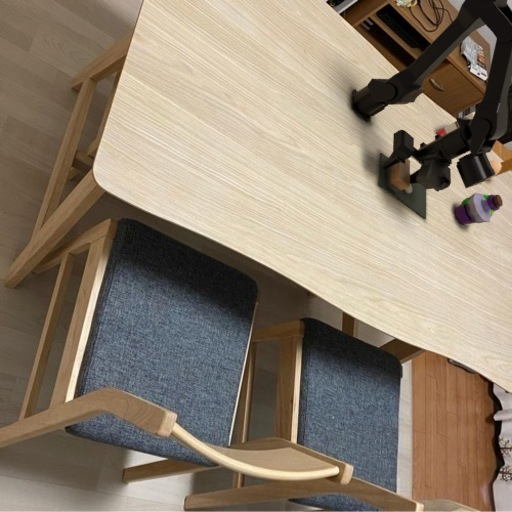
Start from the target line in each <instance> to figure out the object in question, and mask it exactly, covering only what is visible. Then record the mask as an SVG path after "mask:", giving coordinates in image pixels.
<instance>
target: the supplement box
mask: <svg viewBox="0 0 512 512" xmlns="http://www.w3.org/2000/svg"><path fill="white" fill-rule="evenodd" d="M500 163H501V170H500V171H499V173H498V174H497V175H496V176H494V177H498V176H499V175H502V174H505V173H508V172H510V171H512V157H511V158H509V159H505V160H504V161H500ZM494 177H493V178H494Z"/></svg>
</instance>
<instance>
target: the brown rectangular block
mask: <svg viewBox="0 0 512 512" xmlns="http://www.w3.org/2000/svg"><path fill="white" fill-rule="evenodd" d="M410 175H411V160H410V159H409V158H408V159H405V164H404V163H401V162H399V163H397V164H395V165H393V166H391V167H389V168H387V170H386V186H388V187H389V188H390V189H392V190H393V191H394V192H396V193H397V192H399V191H401V190H404V189H406V188H408V187H410Z"/></svg>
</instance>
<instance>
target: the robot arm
mask: <svg viewBox="0 0 512 512" xmlns="http://www.w3.org/2000/svg"><path fill="white" fill-rule="evenodd" d="M484 26H486V27H487V28H488V29H489V30H490V31H491V32H492V33H493V35H494V37H495V38H496V40H495V45H494V48H493V54H492V59H491V63H490V67H489V72H488V75H487V80H486V85H485V89H484V94H483V96H482V99H481V101H480V103H479V104H478V106H477V107H476V109H475V110H474V112H475V114H474V116H473V119H468V118H466V117H465V116H460V117H456V121H457V122H458V125H459V128H457V129H455V130H453V131H451V132H449V133H448V134H446V135H444V136H441V135H439V134H438V135H437V134H435V135H434V140H432V141H431V142H428V143H425V142H424V141H422V142H421V143H419V148H418V149H417V148H416V146H415V137H413V136H412V135H411V134H410V133H408V132H407V131H406V130H405V129H399V130H397V131H395V132H394V133H393V136H392V137H393V138H392V152H391V153H390V155H389V156H388V159H387V161H386V162H385V163H384V165H383V169H386V168H389V167H391V166H393V165H395V164H397V163H399V162H401V163H404V164H405V159H408V160H409V159H410V158H412V159H413V160H414V161H416V162H417V163H418V164H419V165H420V168H418V169H417V170H416V171H414V172H413V173H410V184H414V183H419V184H421V185H422V186H424V187H425V189H426V190H434V191H435V192H436V193H439V192H440V191H444V190H446V189H447V188H449V187H450V186H451V183H452V173H451V168H450V166H451V165H452V164H453V160H454V159H456V158H458V157H459V158H458V161H457V162H456V165H455V167H456V169H457V171H458V174H459V176H460V179H461V181H462V183H463V186H464V188H465V189H469V188H472V187H475V186H477V185H479V184H482V183H484V182H486V181H487V180H486V179H488V178H490V177H492V176H494V175H495V171H494V169H493V168H492V166H491V164H490V162H489V161H490V159H489V157H488V155H487V154H489V153H491V152H492V149H493V148H494V146H495V145H496V143H497V140H498V139H500V138H501V137H503V136H504V135H505V133H506V132H507V130H508V124H509V123H508V122H509V121H508V120H509V108H508V95H509V91H510V87H511V82H512V8H511V7H510V5H509V4H508V0H464V1H463V2H462V3H461V6H460V8H459V10H458V13H457V15H456V17H455V18H454V19H453V21H452V22H451V23H449V25H447V27H446V28H445V29H444V30H443V31H442V32H441V33H440V34H439V35H438V36H437V37H436V38H435V39H434V40H433V41H432V42H431V43H430V44H429V45H428V46H427V47H426V48H425V50H423V52H422V53H420V54H419V56H417V58H416V59H414V61H413V62H412V63H411V64H410V65H409V66H408V67H406V68H404V69H402V70H401V71H399V72H398V71H397V72H396V73H394V74H393V75H392V76H391V77H389V78H371V79H370V80H369V82H368V83H367V85H365V86H363V88H361V89H360V90H357V89H353V90H352V95H351V96H352V97H351V110H352V111H354V112H355V113H356V114H358V115H359V116H360V117H361V118H362V119H364V120H365V121H366V122H367V123H370V122H371V118H372V117H373V118H374V116H376V115H378V114H379V113H381V112H382V111H384V110H385V109H386V108H387V107H388V106H397V105H398V106H399V105H408V104H410V103H411V104H412V103H415V102H416V99H417V98H418V97H419V96H421V95H422V94H424V92H425V91H426V90H425V89H424V88H423V83H424V81H425V80H426V78H427V77H428V76H429V75H431V74H432V73H433V71H434V70H436V68H437V67H438V66H439V65H441V64H442V63H443V62H444V61H445V59H446V58H448V57H449V55H451V54H452V53H453V52H454V51H455V50H456V49H457V48H458V47H459V46H460V45H461V44H462V43H463V42H464V41H465V40H466V39H467V38H468V37H469V36H470V35H471V34H472V33H474V32H475V31H477V30H479V29H480V28H482V27H484ZM468 152H469V153H468ZM467 153H468V154H467ZM464 154H465V155H464ZM488 180H489V179H488Z"/></svg>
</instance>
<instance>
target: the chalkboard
mask: <svg viewBox="0 0 512 512" xmlns="http://www.w3.org/2000/svg"><path fill="white" fill-rule="evenodd" d="M388 158H389V156H387V155H385V154H384V153H383V152H380V153H379V163H378V180H377V182H378V183H377V186H378V187H380V188H381V189H383V190H384V191H385V192H386V193H388V194H389V195H391V196H392V197H393V198H395V199H396V200H397V201H398V202H400V203H401V204H403V205H404V206H405V207H407V208H408V209H409V210H411V211H412V212H414V213H415V214H416V215H418V216H419V217H420V218H421V219H423V220H426V219H427V189H425V187H424V186H422V185H421V184H419V183H414V184H411V186H412V192H411V193H407V192H406V191H405V190H401V191H399V192H397V193H396V192H394V191H393V190H392V189H390V188H389V187H388V186H386V170H387V168H386V169H383V165H384V163H385V162H386V161H387V159H388Z"/></svg>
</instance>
